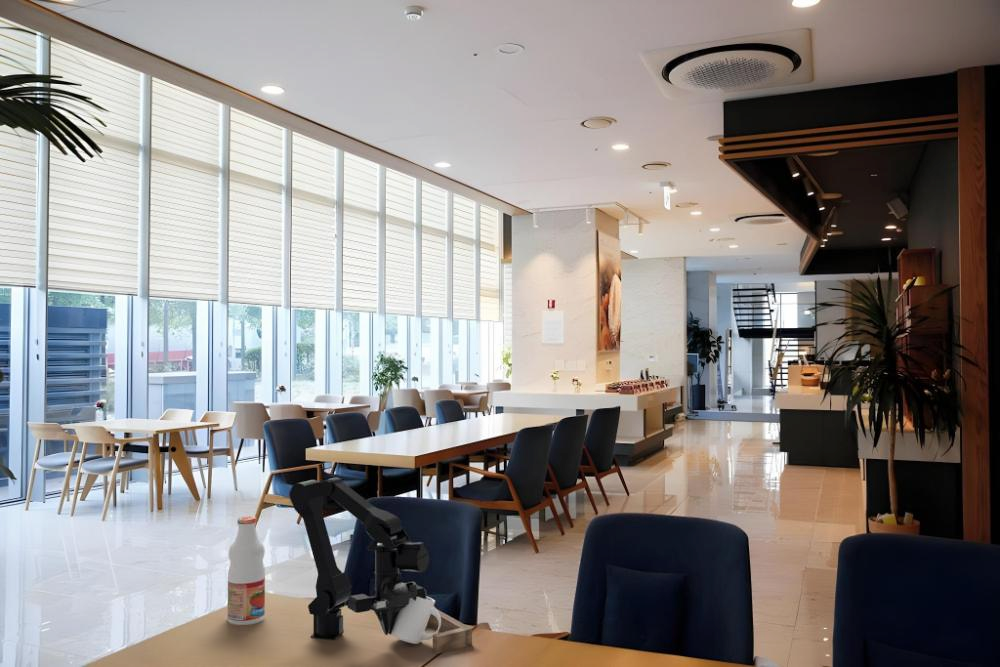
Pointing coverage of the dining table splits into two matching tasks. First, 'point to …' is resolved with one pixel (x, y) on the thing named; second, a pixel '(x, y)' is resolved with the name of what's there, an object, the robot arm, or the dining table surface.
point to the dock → (449, 633)
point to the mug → (415, 620)
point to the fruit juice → (246, 576)
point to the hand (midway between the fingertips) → (388, 634)
